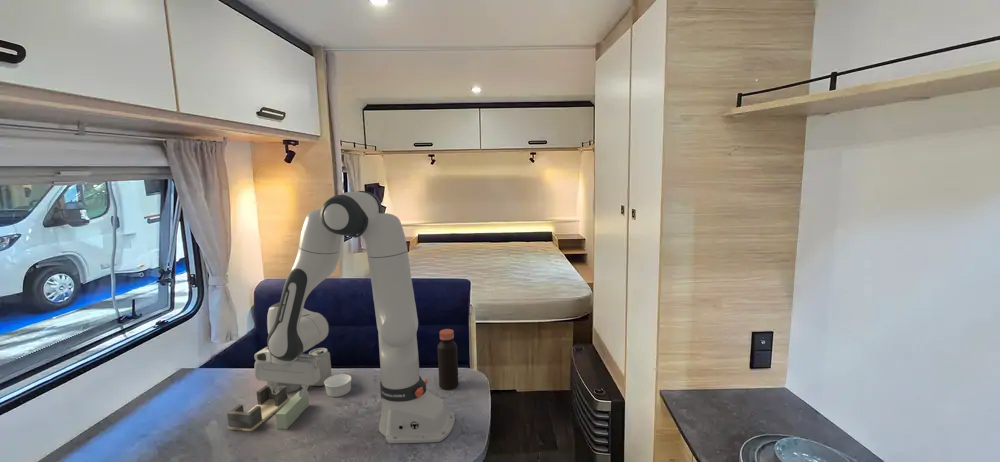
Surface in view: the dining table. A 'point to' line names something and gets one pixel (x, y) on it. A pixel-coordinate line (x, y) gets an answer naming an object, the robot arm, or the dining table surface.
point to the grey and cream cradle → (257, 409)
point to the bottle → (447, 360)
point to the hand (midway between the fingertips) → (289, 394)
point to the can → (322, 364)
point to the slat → (291, 411)
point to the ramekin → (338, 385)
